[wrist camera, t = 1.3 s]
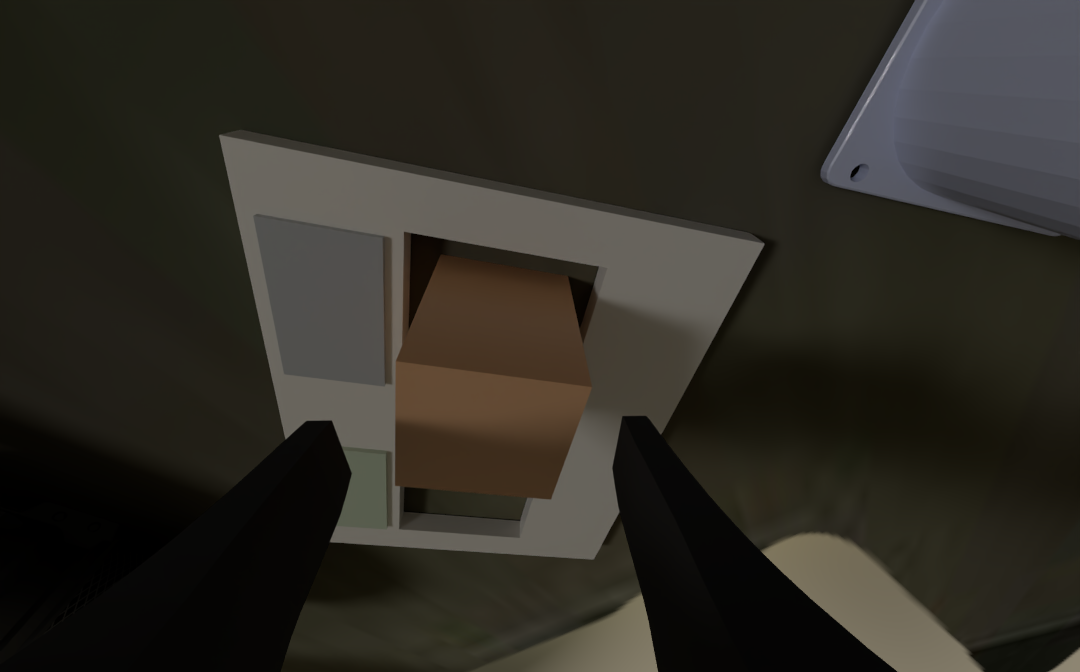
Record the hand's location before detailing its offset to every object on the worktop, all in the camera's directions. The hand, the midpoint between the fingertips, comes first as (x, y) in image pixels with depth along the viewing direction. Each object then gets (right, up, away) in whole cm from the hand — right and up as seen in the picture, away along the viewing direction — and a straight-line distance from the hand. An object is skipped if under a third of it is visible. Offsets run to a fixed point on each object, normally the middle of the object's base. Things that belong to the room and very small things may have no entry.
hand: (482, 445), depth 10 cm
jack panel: (-1, -1, +8) cm, 8 cm away
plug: (0, +4, +5) cm, 6 cm away
